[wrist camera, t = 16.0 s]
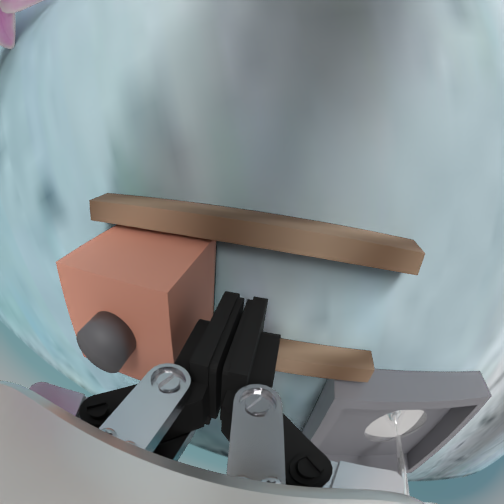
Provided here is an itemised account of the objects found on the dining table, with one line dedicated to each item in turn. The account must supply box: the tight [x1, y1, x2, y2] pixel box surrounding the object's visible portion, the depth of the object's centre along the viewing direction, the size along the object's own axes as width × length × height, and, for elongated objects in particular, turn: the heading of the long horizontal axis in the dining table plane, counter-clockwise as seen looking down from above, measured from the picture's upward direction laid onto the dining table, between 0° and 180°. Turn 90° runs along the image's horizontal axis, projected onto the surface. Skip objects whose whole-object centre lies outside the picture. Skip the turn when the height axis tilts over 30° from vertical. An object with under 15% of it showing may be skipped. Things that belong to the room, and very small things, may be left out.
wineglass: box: [364, 410, 437, 504], centre depth 10 cm, size 7×7×12 cm
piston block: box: [56, 224, 216, 380], centre depth 11 cm, size 5×5×6 cm
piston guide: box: [89, 193, 425, 382], centre depth 13 cm, size 15×10×2 cm
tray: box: [302, 369, 491, 473], centre depth 15 cm, size 12×12×2 cm
